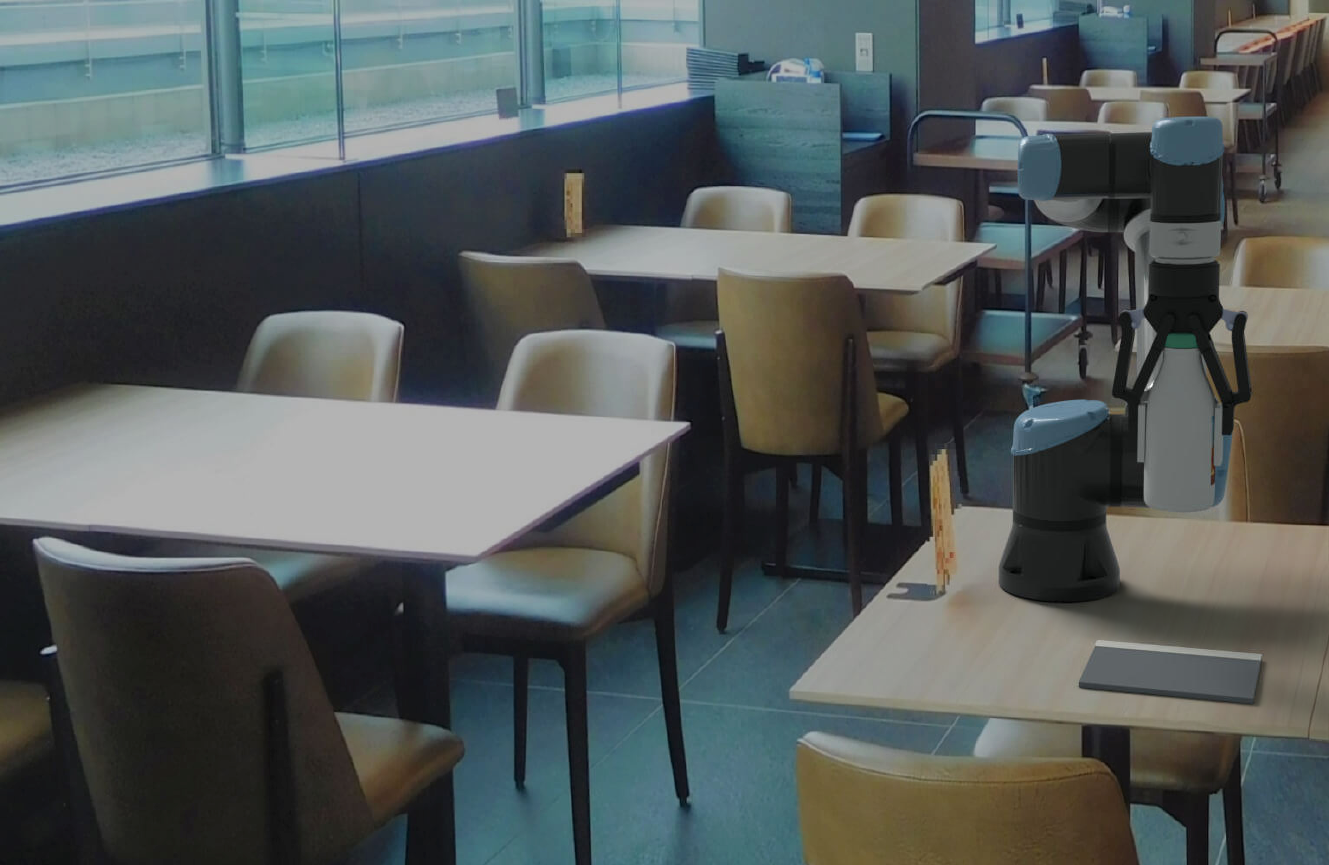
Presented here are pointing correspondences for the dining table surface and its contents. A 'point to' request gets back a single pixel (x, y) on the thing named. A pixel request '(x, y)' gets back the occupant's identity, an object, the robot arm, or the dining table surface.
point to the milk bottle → (1180, 431)
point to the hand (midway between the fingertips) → (1179, 461)
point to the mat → (1172, 671)
